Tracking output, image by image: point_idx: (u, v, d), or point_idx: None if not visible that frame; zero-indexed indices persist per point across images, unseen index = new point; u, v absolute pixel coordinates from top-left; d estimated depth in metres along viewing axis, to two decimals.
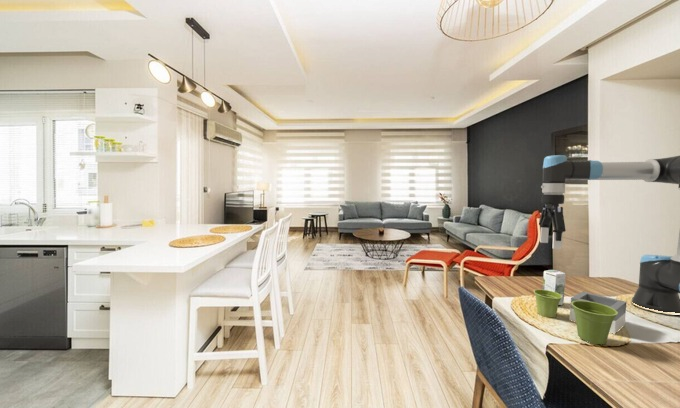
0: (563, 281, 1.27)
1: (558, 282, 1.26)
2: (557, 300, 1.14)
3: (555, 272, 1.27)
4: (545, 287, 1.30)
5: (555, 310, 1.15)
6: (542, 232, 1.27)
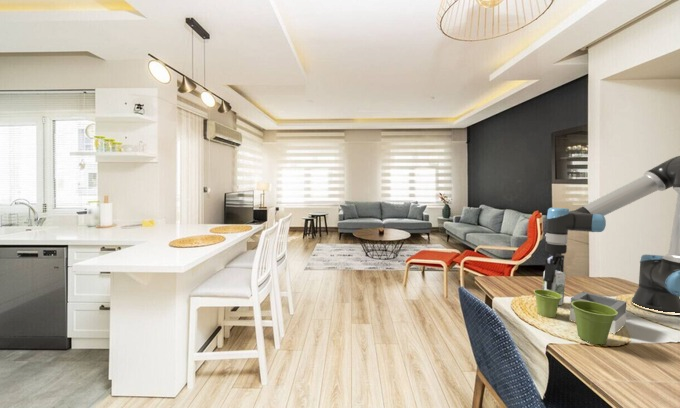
0: (563, 281, 1.27)
1: (558, 282, 1.26)
2: (557, 300, 1.14)
3: (555, 272, 1.27)
4: (545, 287, 1.30)
5: (555, 310, 1.15)
6: None
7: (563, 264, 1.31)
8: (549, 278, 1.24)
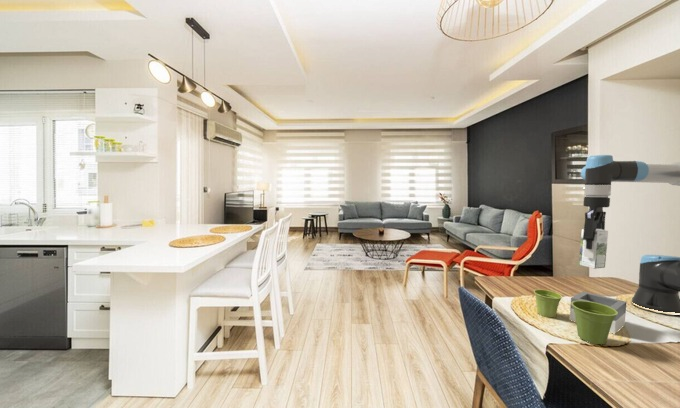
0: (605, 239, 1.10)
1: (600, 240, 1.09)
2: (557, 300, 1.14)
3: None
4: (583, 247, 1.13)
5: (555, 310, 1.15)
6: None
7: (604, 222, 1.15)
8: (589, 235, 1.08)
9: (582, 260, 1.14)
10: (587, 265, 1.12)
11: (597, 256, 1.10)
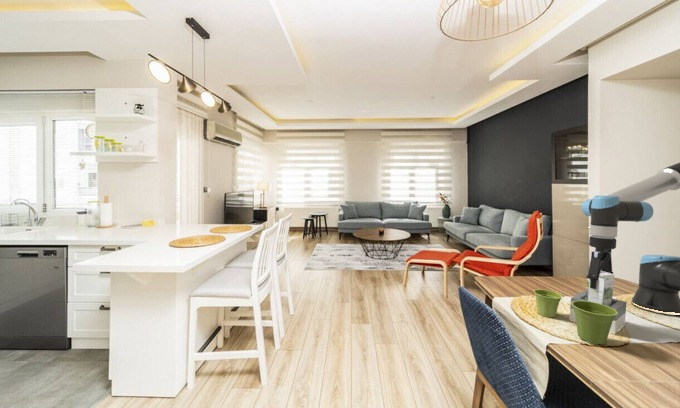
0: (612, 283, 1.09)
1: (607, 285, 1.08)
2: (557, 300, 1.14)
3: (602, 273, 1.09)
4: None
5: (555, 310, 1.15)
6: None
7: None
8: (594, 274, 1.04)
9: None
10: None
11: (604, 301, 1.08)
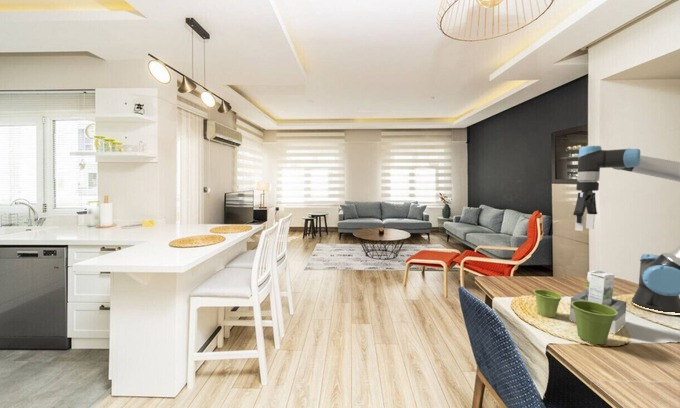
0: (612, 283, 1.09)
1: (607, 285, 1.08)
2: (557, 300, 1.14)
3: (602, 273, 1.09)
4: (590, 291, 1.11)
5: (555, 310, 1.15)
6: (587, 218, 1.35)
7: (595, 201, 1.33)
8: (580, 210, 1.24)
9: None
10: None
11: (604, 301, 1.08)
